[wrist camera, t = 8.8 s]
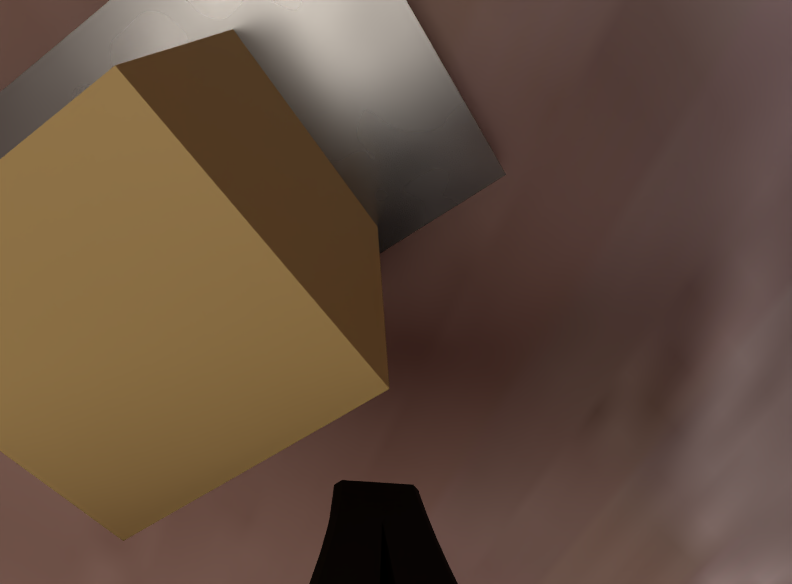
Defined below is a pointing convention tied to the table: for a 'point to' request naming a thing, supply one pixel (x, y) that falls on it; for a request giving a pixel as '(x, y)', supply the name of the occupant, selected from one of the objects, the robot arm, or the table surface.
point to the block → (178, 286)
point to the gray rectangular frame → (301, 91)
